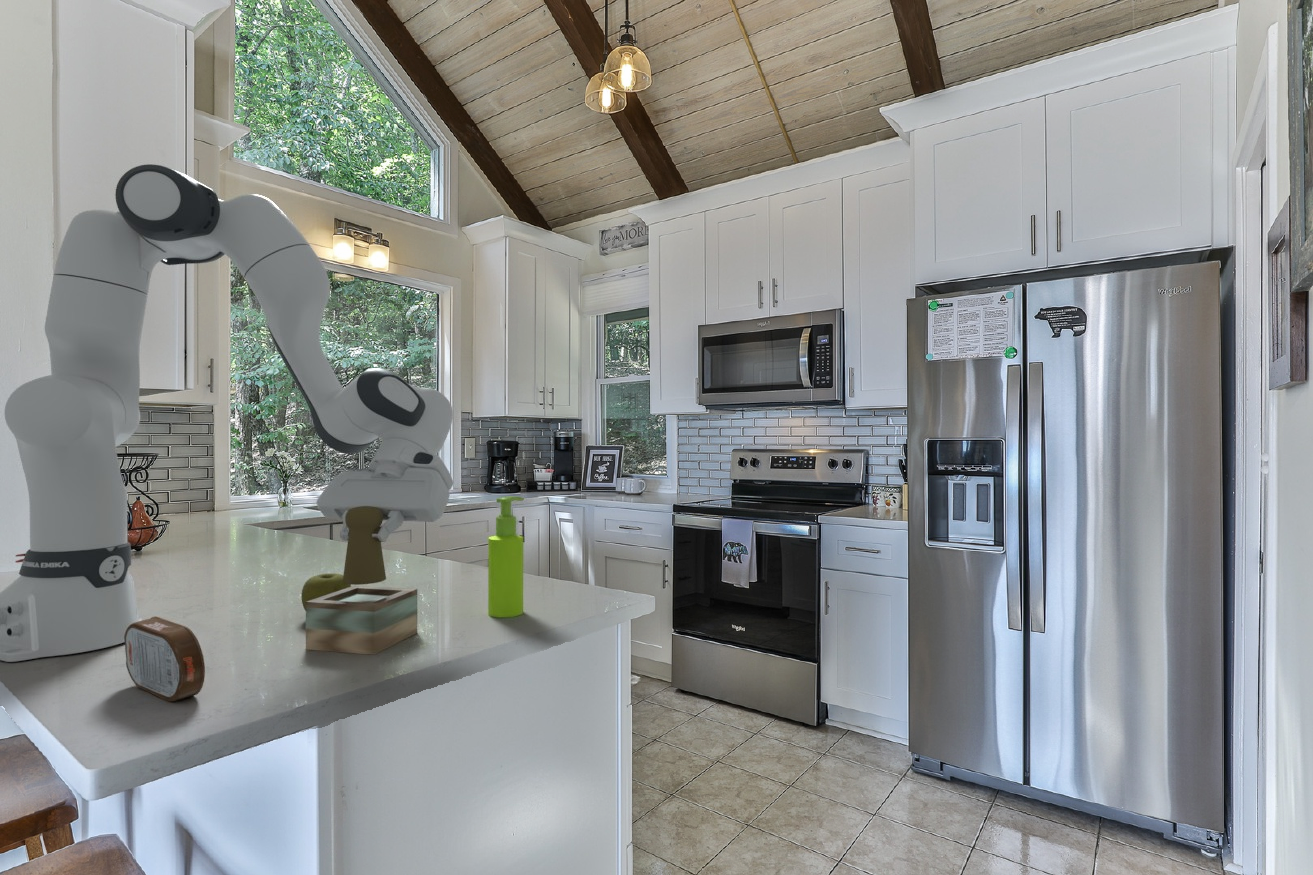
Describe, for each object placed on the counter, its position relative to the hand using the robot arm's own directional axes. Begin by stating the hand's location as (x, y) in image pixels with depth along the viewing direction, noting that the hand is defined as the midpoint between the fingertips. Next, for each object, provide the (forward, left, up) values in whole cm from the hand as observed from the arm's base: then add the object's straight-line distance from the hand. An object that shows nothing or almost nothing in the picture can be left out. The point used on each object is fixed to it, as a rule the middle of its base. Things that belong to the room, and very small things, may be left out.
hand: (361, 539), depth 103 cm
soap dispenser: (+14, +21, -15) cm, 29 cm away
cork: (0, +1, -6) cm, 6 cm away
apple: (-14, +11, -15) cm, 23 cm away
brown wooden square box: (0, +1, -15) cm, 15 cm away
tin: (-11, -23, -16) cm, 30 cm away
